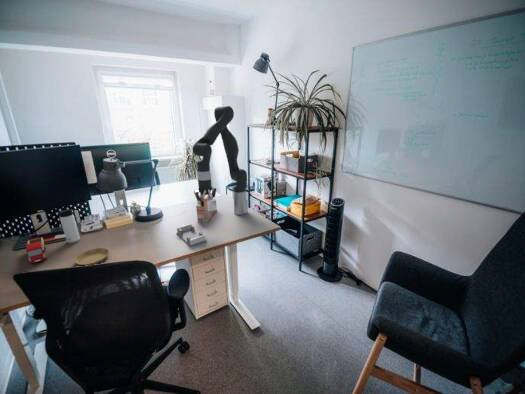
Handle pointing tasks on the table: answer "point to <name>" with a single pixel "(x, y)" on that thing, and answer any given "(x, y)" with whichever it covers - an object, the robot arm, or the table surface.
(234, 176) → the robot arm
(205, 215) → the stack of blocks
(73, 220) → the travel mug
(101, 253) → the plant saucer
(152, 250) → the table surface
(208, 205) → the peach lotion tube
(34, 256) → the toy truck
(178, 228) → the cradle jig
